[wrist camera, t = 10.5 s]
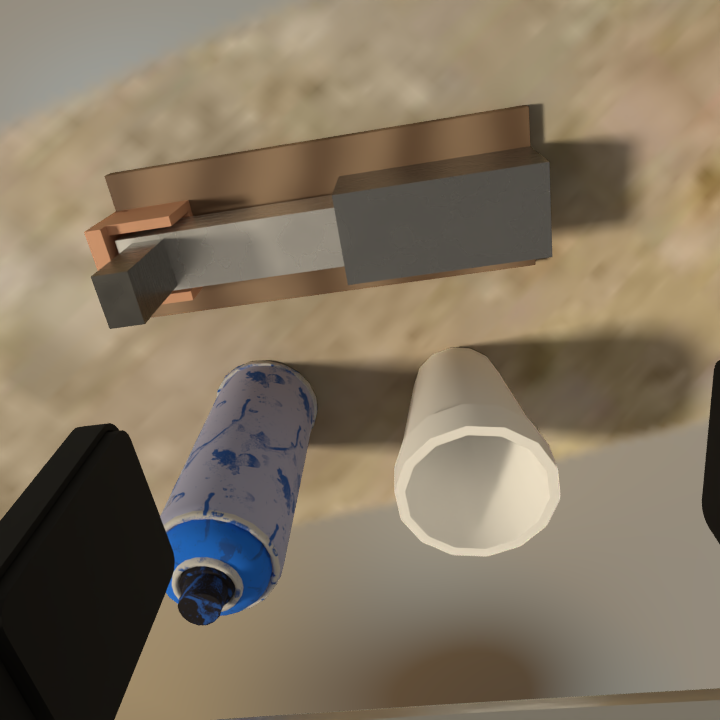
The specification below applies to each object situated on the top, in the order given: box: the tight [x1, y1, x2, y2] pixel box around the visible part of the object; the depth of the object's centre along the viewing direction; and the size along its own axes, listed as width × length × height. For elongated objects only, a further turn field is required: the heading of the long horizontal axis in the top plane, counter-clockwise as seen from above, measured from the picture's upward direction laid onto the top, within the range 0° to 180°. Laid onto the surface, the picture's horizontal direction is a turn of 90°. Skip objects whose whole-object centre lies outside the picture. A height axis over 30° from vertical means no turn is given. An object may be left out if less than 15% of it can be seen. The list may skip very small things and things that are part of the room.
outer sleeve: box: [332, 146, 552, 285], centre depth 39 cm, size 12×5×5 cm, turn 99°
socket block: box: [84, 200, 203, 305], centre depth 41 cm, size 5×5×5 cm
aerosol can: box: [160, 361, 318, 625], centre depth 41 cm, size 8×8×20 cm
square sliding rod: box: [91, 195, 344, 329], centre depth 38 cm, size 16×4×10 cm, turn 99°
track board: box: [105, 105, 535, 317], centre depth 43 cm, size 27×10×1 cm, turn 99°
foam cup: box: [394, 348, 560, 556], centre depth 43 cm, size 10×9×13 cm
